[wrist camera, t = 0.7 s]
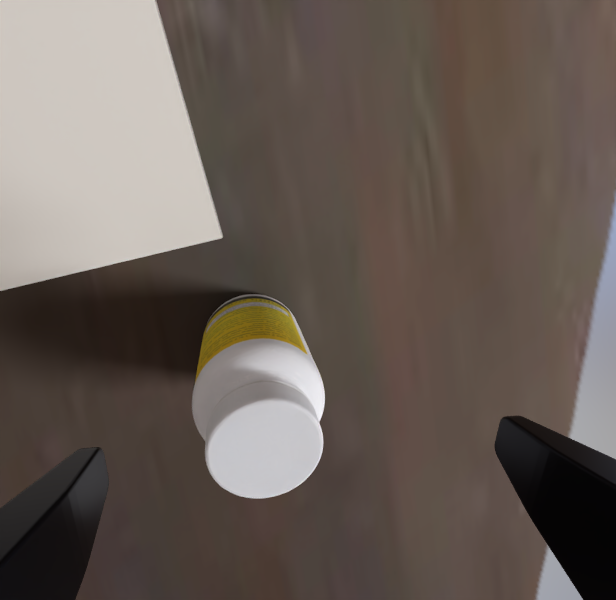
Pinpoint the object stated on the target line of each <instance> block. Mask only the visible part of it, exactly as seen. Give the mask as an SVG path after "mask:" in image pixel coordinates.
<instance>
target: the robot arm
mask: <svg viewBox="0 0 616 600" xmlns="http://www.w3.org/2000/svg"><path fill="white" fill-rule="evenodd" d="M495 451H496V454H497V457H498V459H499V460H500V462H501V464H502V466H503V468H504V470H505V472H506V474H507V475H508V477H509V479H510V481H511V483H512V485H513V487H514V489H515V490H516V492H517V494H518V496H519V498H520V500H521V502H522V504H523V506H524V507H525V509H526V511H527V513H528V514H529V516H530V518H531V519H532V521H533V523H534V524H535V526H536V527H537V529H538V531H539V532H540V534H541V535H542V537H543V538H544V540H545V541H546V543H547V544H548V546H549V548H550V549H551V551H552V552H553V553H554V555H555V557H556V558H557V560H558V561H559V563H560V564H561V566H562V568H563V569H564V571H565V572H566V574H567V575H568V577H569V578H570V580H571V581H572V583H573V584H574V586H575V588H576V589H577V591H578V592H579V594H580V595H581V597H582V598H583V600H616V459H614V458H612V457H609V456H607V455H605V454H603V453H601V452H599V451H596V450H594V449H592V448H590V447H587V446H585V445H583V444H581V443H579V442H577V441H575V440H572V439H570V438H568V437H566V436H564V435H561V434H559V433H557V432H555V431H553V430H550V429H548V428H546V427H544V426H542V425H540V424H537V423H535V422H533V421H531V420H529V419H526V418H524V417H522V416H506V417H503V418H502V419H501V421H500V424H499V428H498V432H497V436H496V441H495ZM108 486H109V478H108V472H107V467H106V462H105V457H104V452H103V450H102V449H101V448H99V447H94V448H82V449H79V450H77V451H76V452H74V453H73V454H72V455H70V456H69V457H68V458H66V459H65V460H64V461H62V462H61V463H60V464H58V465H57V466H56V467H54V468H53V469H52V470H50V471H49V472H48V473H46V474H45V475H44V476H42V477H41V478H40V479H38V480H37V481H36V482H34V483H33V484H32V485H30V486H29V487H28V488H26V489H25V490H24V491H22V492H21V493H20V494H18V495H17V496H16V497H15V498H13V499H12V500H11V501H9V502H8V503H7V504H5V505H4V506H3V507H1V508H0V600H75V599H76V596H77V593H78V591H79V588H80V585H81V583H82V580H83V577H84V574H85V571H86V568H87V565H88V562H89V558H90V555H91V551H92V547H93V544H94V540H95V536H96V532H97V529H98V525H99V521H100V517H101V514H102V510H103V506H104V502H105V499H106V495H107V491H108Z"/></svg>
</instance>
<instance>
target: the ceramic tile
mask: <svg viewBox="0 0 616 600" xmlns="http://www.w3.org/2000/svg"><path fill="white" fill-rule="evenodd" d="M220 238H223V234H222V231H221V227H220V224H219V220H218V217H217V213H216V210H215V206H214V202H213V199H212V195H211V192H210V188H209V185H208V181H207V178H206V174H205V171H204V167H203V164H202V160H201V157H200V153H199V150H198V146H197V143H196V139H195V136H194V132H193V129H192V125H191V121H190V118H189V114H188V111H187V107H186V104H185V100H184V97H183V93H182V90H181V86H180V83H179V79H178V76H177V72H176V69H175V65H174V62H173V58H172V55H171V51H170V47H169V44H168V40H167V37H166V33H165V30H164V26H163V23H162V19H161V16H160V12H159V9H158V5H157V2H156V0H0V291H2V290H6V289H11V288H15V287H19V286H23V285H27V284H31V283H36V282H40V281H44V280H48V279H52V278H57V277H61V276H65V275H69V274H73V273H78V272H82V271H86V270H90V269H94V268H99V267H103V266H107V265H111V264H115V263H120V262H124V261H128V260H132V259H136V258H141V257H145V256H149V255H153V254H157V253H162V252H166V251H170V250H174V249H178V248H183V247H187V246H191V245H195V244H199V243H204V242H208V241H212V240H216V239H220Z"/></svg>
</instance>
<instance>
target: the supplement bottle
mask: <svg viewBox="0 0 616 600" xmlns="http://www.w3.org/2000/svg"><path fill="white" fill-rule="evenodd" d="M324 403H325V392H324V386H323V382H322V379H321V376H320V373H319V371H318V368H317V366H316V364H315V362H314V360H313V358H312V356H311V353H310V351H309V348H308V346H307V344H306V342H305V339H304V337H303V335H302V333H301V330H300V328H299V326H298V324H297V322H296V319H295V318H294V316H293V314H292V313H291V312H290V310H289V309H288V308H287V307H286V306H285V305H283V304H282V303H281V302H279V301H278V300H276V299H274V298H271V297H268V296H265V295H259V294H248V295H242V296H238V297H235V298H232V299H230V300H228V301H227V302H225V303H224V304H222V305H221V306H220V307H219V308H218V309H217V310H216V311H215V312H214V313H213V314H212V315H211V317H210V319H209V320H208V322H207V324H206V327H205V330H204V334H203V338H202V345H201V350H200V355H199V361H198V366H197V372H196V378H195V382H194V387H193V398H192V412H193V417H194V421H195V424H196V427H197V429H198V431H199V433H200V434H201V436H202V437H203V439H204V440H205V441H206V444H205V459H206V464H207V467H208V470H209V472H210V474H211V475H212V477H213V479H214V480H215V481H216V482H217V483H218V484H219V485H220V486H221V487H223V488H224V489H225V490H227V491H229V492H231V493H233V494H236V495H238V496H242V497H247V498H268V497H273V496H277V495H280V494H283V493H285V492H288V491H290V490H292V489H293V488H295V487H297V486H298V485H300V484H301V483H302V482H304V481H305V480H306V479H307V478H308V477H309V476H310V474H311V473H312V472H313V471H314V469H315V468H316V466H317V464H318V462H319V460H320V458H321V454H322V450H323V434H322V430H321V427H320V424H319V421H320V419H321V416H322V413H323V409H324Z"/></svg>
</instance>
